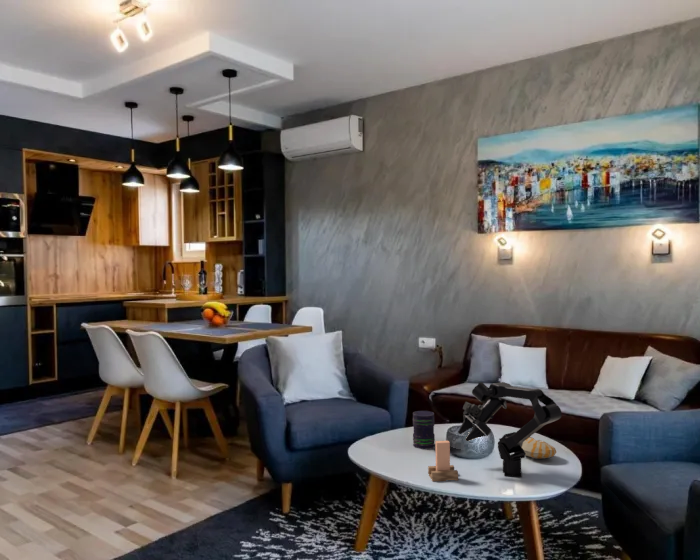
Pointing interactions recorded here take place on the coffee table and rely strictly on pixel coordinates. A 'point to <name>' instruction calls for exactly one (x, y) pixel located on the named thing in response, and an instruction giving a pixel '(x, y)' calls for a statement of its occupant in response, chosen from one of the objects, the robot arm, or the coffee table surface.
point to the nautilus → (538, 449)
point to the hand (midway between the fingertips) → (462, 436)
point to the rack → (442, 474)
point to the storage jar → (423, 429)
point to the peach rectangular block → (442, 455)
